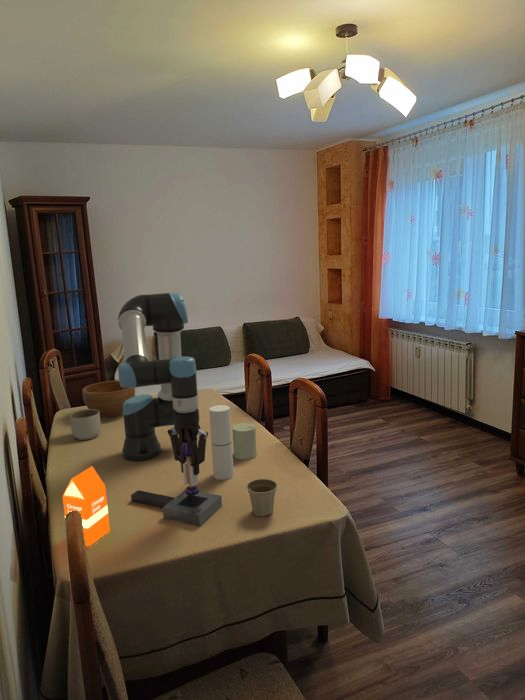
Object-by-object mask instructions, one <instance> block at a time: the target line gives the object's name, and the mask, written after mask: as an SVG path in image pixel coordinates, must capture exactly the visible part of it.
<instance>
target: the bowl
mask: <svg viewBox="0 0 525 700" xmlns="http://www.w3.org/2000/svg"><path fill="white" fill-rule="evenodd" d="M81 395H82V399H83V403H84V404H85V406H86V407H87V409H95V410H98V411H99V413H100V417H103V418H112V417H117V416H120V415H121V414H122V415H123V403H124V402H125V401H126V400H127V399H129V398H132V397H134V396H136V387H135V388H132V387H130V388H122V387H121V386H120V383H119V380H107V381H101V382H96V383H91V384H89V385H86V386H85V387H83V388H82V394H81Z"/></svg>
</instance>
